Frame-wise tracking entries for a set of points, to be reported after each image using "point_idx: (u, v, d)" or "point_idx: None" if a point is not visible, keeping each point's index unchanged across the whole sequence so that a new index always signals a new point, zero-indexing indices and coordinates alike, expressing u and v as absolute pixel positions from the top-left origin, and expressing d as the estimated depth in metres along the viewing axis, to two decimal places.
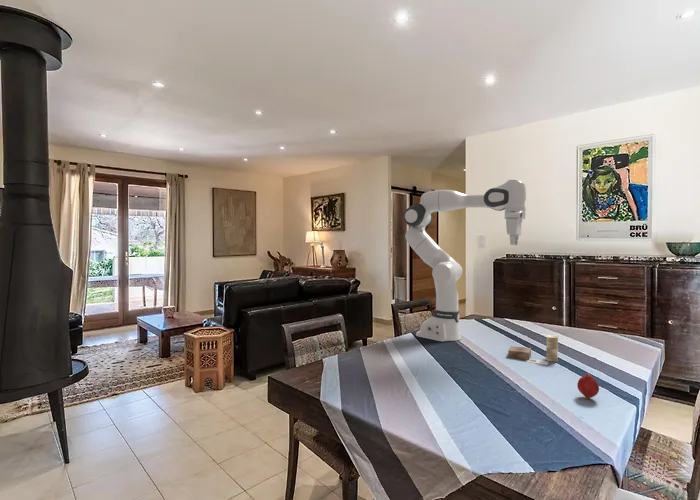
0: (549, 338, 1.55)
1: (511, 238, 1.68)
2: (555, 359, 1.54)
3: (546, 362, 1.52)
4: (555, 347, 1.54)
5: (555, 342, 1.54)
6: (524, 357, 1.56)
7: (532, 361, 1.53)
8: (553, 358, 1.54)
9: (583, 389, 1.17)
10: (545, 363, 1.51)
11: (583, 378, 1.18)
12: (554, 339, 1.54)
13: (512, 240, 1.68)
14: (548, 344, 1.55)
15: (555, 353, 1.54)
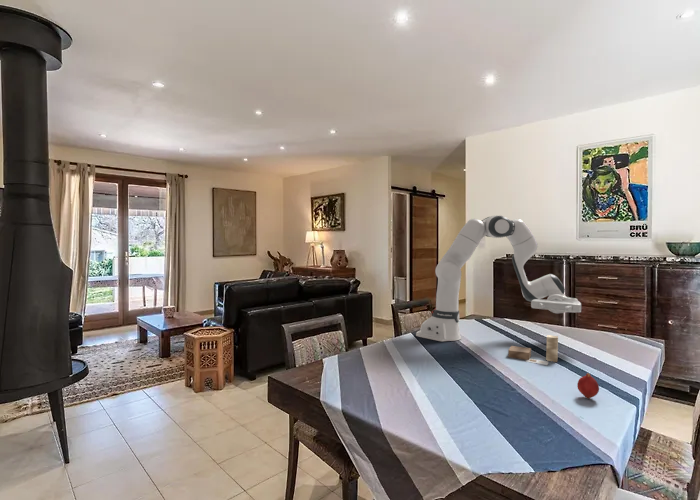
0: (549, 338, 1.55)
1: (571, 307, 1.65)
2: (555, 359, 1.54)
3: (546, 362, 1.52)
4: (555, 347, 1.54)
5: (555, 342, 1.54)
6: (524, 357, 1.56)
7: (532, 361, 1.53)
8: (553, 358, 1.54)
9: (583, 389, 1.17)
10: (545, 363, 1.51)
11: (583, 378, 1.18)
12: (554, 339, 1.54)
13: (569, 308, 1.65)
14: (548, 344, 1.55)
15: (555, 353, 1.54)
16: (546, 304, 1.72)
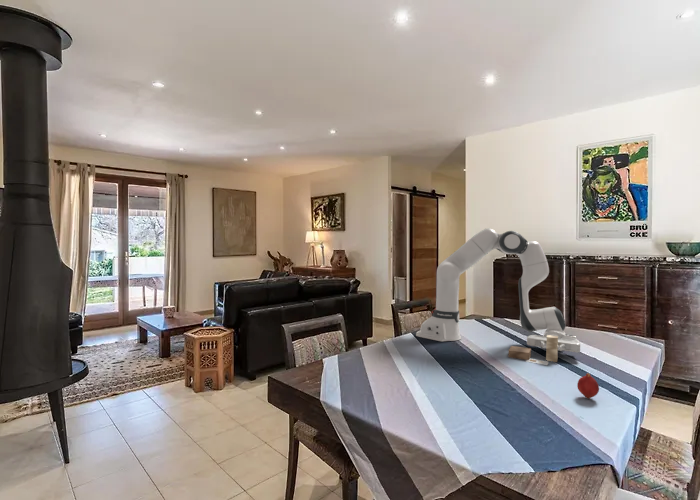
0: (548, 338, 1.55)
1: (563, 346, 1.56)
2: (555, 359, 1.54)
3: (546, 362, 1.52)
4: (555, 347, 1.54)
5: (555, 342, 1.54)
6: (524, 357, 1.56)
7: (532, 361, 1.53)
8: (553, 358, 1.54)
9: (583, 389, 1.17)
10: (545, 363, 1.51)
11: (583, 378, 1.18)
12: (554, 339, 1.54)
13: (562, 348, 1.55)
14: (548, 344, 1.55)
15: (555, 353, 1.54)
16: None
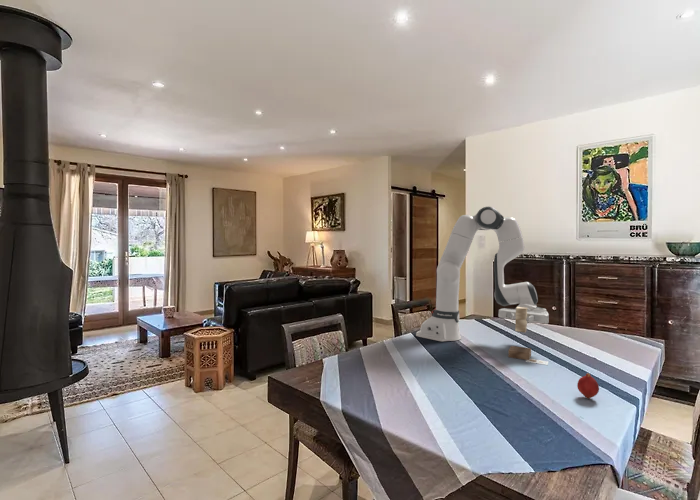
0: (518, 309, 1.59)
1: (532, 317, 1.60)
2: (524, 329, 1.58)
3: (546, 362, 1.52)
4: (524, 317, 1.58)
5: (524, 313, 1.58)
6: (524, 357, 1.56)
7: (532, 361, 1.53)
8: (522, 328, 1.58)
9: (583, 389, 1.17)
10: (545, 363, 1.51)
11: (583, 378, 1.18)
12: (523, 310, 1.58)
13: (531, 318, 1.59)
14: (517, 315, 1.59)
15: (524, 323, 1.58)
16: None
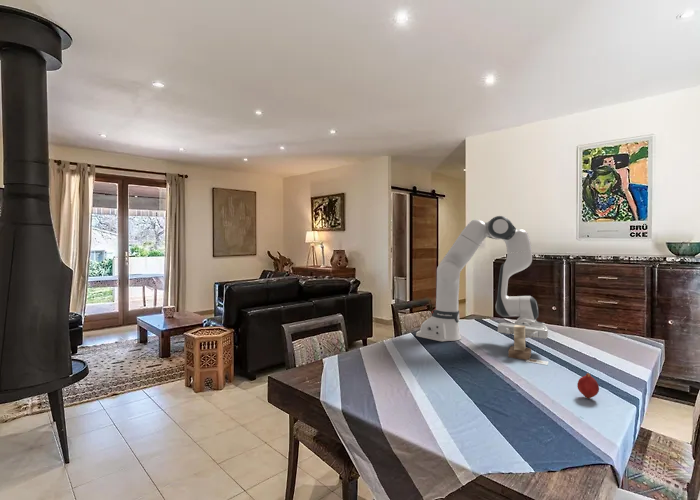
0: (516, 328, 1.60)
1: (537, 333, 1.59)
2: (522, 348, 1.58)
3: (546, 362, 1.52)
4: (522, 336, 1.58)
5: (522, 331, 1.58)
6: (524, 357, 1.56)
7: (532, 361, 1.53)
8: (521, 346, 1.59)
9: (583, 389, 1.17)
10: (545, 363, 1.51)
11: (583, 378, 1.18)
12: (521, 328, 1.58)
13: (535, 334, 1.58)
14: (515, 333, 1.60)
15: (522, 342, 1.58)
16: (512, 329, 1.66)
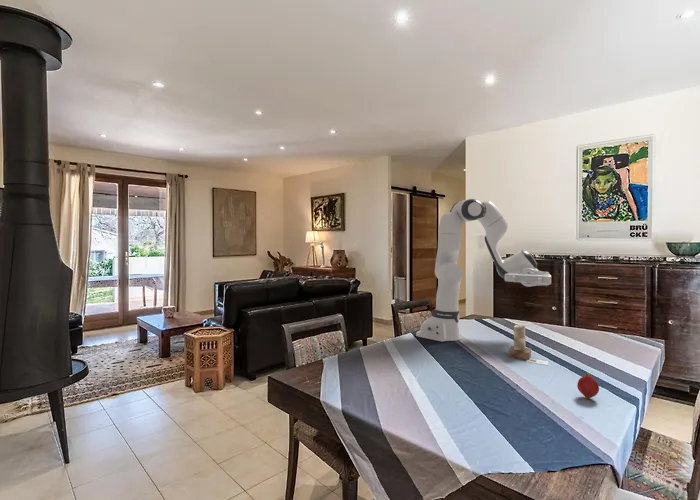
0: (516, 328, 1.59)
1: (541, 279, 1.71)
2: (522, 348, 1.58)
3: (546, 362, 1.52)
4: (522, 336, 1.58)
5: (522, 331, 1.58)
6: (524, 357, 1.56)
7: (532, 361, 1.53)
8: (521, 346, 1.58)
9: (583, 389, 1.17)
10: (545, 363, 1.51)
11: (583, 378, 1.18)
12: (521, 328, 1.58)
13: (539, 280, 1.71)
14: (515, 333, 1.60)
15: (522, 342, 1.58)
16: (518, 277, 1.78)
